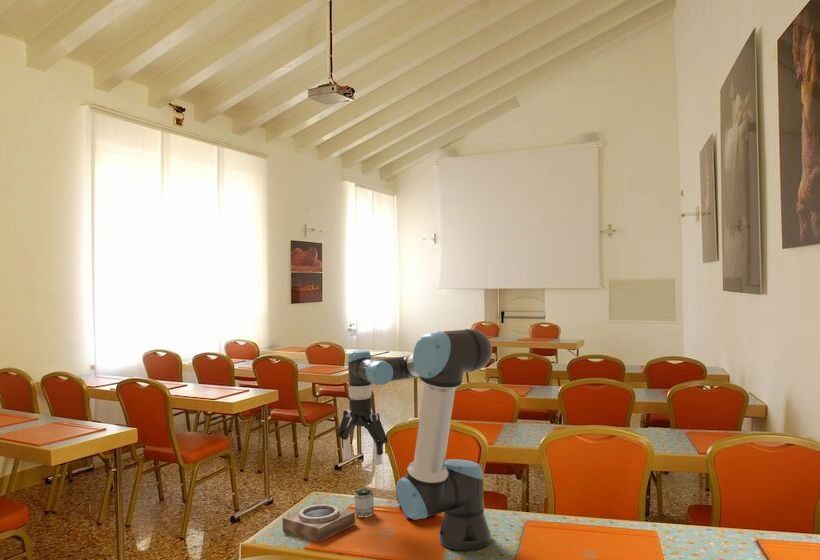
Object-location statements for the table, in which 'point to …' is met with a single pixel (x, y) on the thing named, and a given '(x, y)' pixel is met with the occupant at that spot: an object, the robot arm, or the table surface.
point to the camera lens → (364, 502)
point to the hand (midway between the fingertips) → (362, 461)
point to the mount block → (318, 521)
